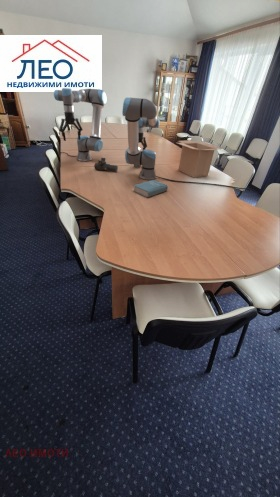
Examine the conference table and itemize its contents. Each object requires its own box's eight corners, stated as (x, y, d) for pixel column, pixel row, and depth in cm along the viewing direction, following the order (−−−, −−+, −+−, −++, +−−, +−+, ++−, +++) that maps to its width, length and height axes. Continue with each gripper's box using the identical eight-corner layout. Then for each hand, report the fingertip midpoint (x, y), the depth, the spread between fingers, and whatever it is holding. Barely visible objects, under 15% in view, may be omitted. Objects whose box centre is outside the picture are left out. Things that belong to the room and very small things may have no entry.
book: (152, 185, 190) (153, 179, 187) (167, 191, 181) (167, 185, 178) (133, 191, 176) (133, 185, 173) (147, 198, 167) (148, 191, 164)
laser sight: (115, 173, 209) (115, 162, 203) (92, 170, 212) (92, 159, 206) (118, 170, 216) (118, 159, 211) (96, 167, 219) (95, 157, 213)
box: (220, 177, 217) (229, 148, 201) (192, 181, 203) (199, 150, 187) (192, 165, 247) (198, 138, 231) (166, 167, 233) (170, 139, 217)
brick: (137, 165, 234) (137, 156, 229) (140, 167, 230) (141, 158, 225) (133, 166, 231) (134, 157, 226) (137, 167, 228) (137, 158, 222)
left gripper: (80, 111, 188) (83, 138, 201) (52, 111, 175) (56, 140, 188) (85, 112, 184) (87, 139, 197) (56, 112, 171) (60, 142, 183)
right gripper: (146, 130, 220) (145, 153, 233) (126, 132, 207) (126, 155, 219) (151, 131, 216) (149, 154, 228) (131, 133, 202) (131, 157, 215)
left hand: (72, 140), depth 192 cm, fingers open, 13 cm apart
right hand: (138, 155), depth 224 cm, fingers open, 13 cm apart
